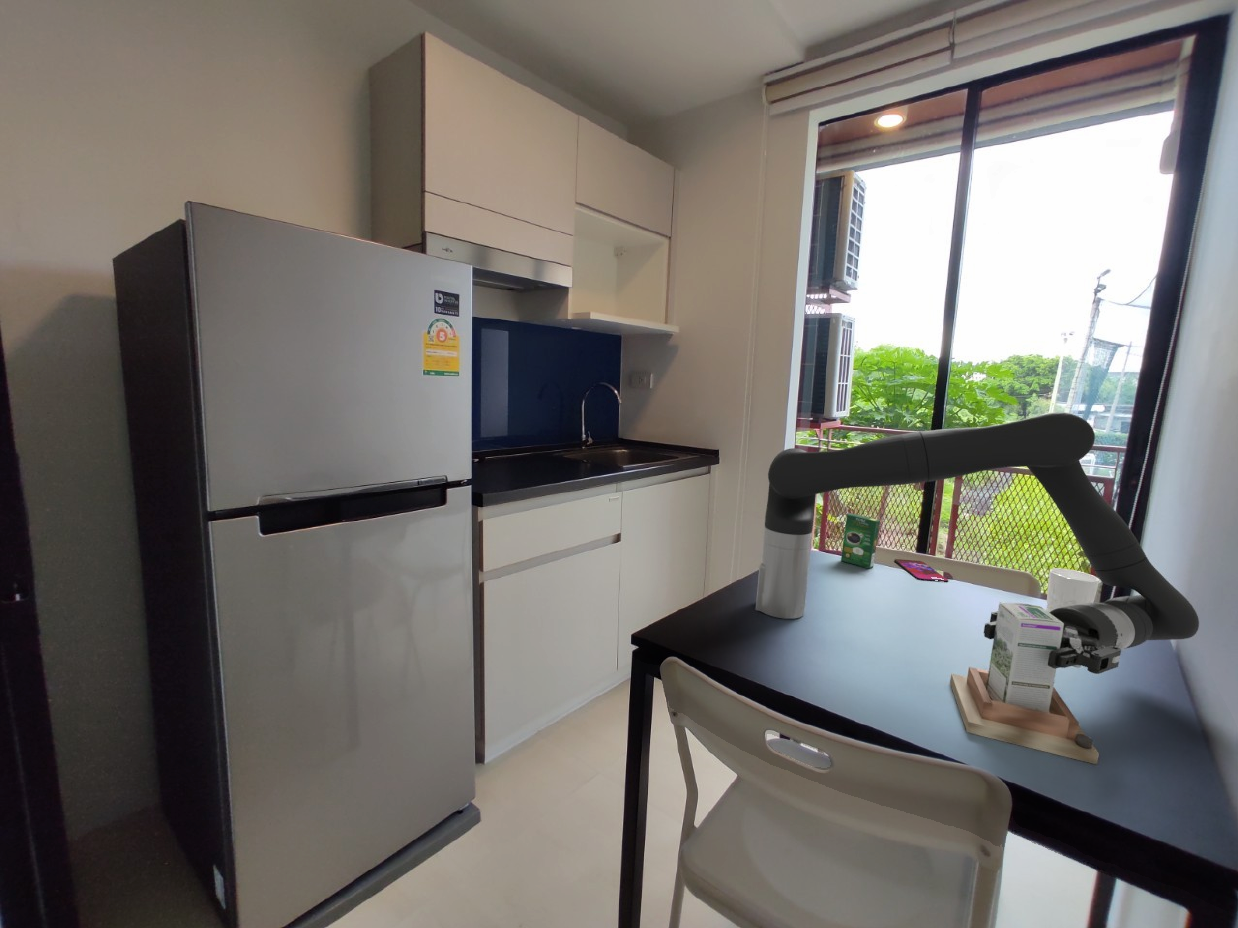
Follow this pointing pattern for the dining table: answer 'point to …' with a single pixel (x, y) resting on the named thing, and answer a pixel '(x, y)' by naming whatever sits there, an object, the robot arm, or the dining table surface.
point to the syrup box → (1023, 656)
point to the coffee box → (860, 540)
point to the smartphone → (919, 570)
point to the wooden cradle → (1020, 720)
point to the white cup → (1070, 588)
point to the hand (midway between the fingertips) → (1017, 645)
